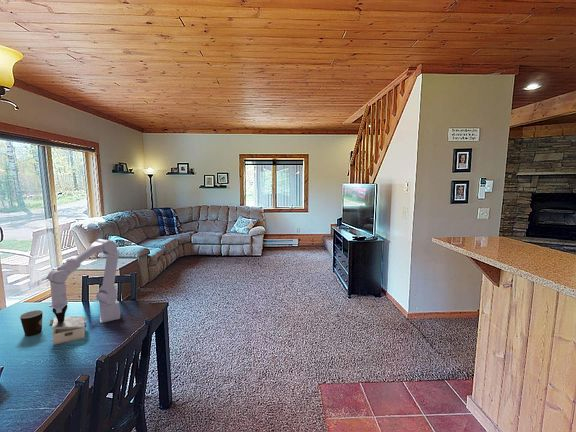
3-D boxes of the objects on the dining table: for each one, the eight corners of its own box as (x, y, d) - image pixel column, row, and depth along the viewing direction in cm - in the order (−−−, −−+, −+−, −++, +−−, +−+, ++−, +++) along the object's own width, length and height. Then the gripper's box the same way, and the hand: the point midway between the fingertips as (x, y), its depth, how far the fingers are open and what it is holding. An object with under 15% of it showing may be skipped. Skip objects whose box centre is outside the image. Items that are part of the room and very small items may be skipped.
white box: (87, 325, 158) (86, 315, 157) (87, 338, 146) (86, 327, 145) (55, 332, 151) (54, 322, 150) (53, 346, 139) (52, 335, 138)
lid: (83, 317, 156) (83, 316, 156) (83, 327, 146) (84, 326, 146) (51, 318, 148) (51, 316, 148) (48, 329, 138) (49, 327, 138)
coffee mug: (31, 338, 145) (29, 319, 144) (17, 336, 147) (15, 317, 146) (54, 326, 157) (52, 308, 155) (41, 325, 158) (39, 307, 157)
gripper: (49, 291, 147) (52, 317, 149) (46, 301, 135) (49, 330, 137) (67, 288, 151) (69, 314, 153) (66, 298, 139) (68, 326, 141)
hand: (61, 321), depth 145 cm, fingers closed, pressing on lid
